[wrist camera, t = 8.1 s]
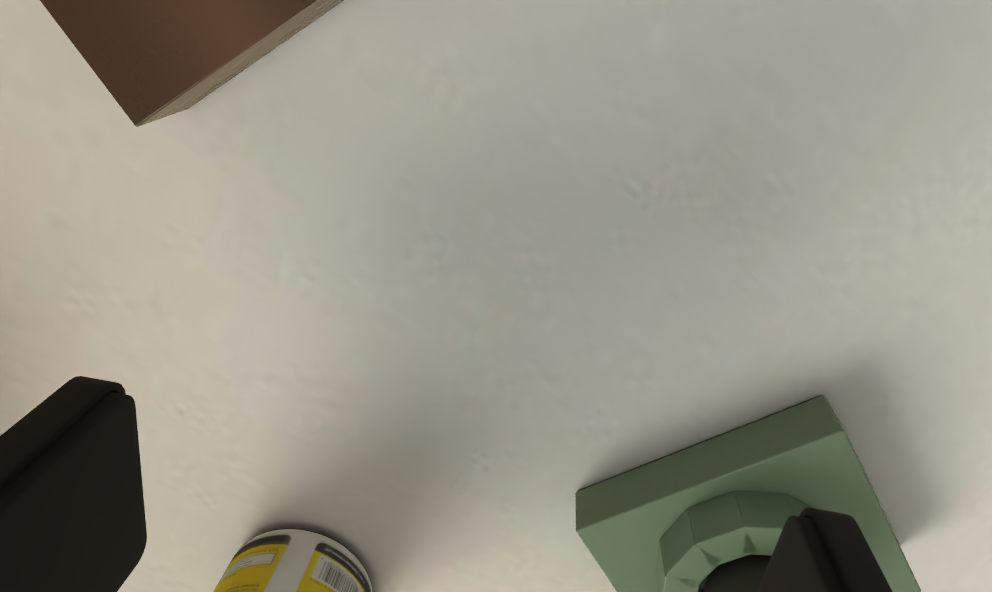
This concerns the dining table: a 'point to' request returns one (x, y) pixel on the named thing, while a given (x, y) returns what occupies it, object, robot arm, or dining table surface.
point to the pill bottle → (294, 565)
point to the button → (738, 575)
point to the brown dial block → (176, 44)
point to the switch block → (732, 503)
